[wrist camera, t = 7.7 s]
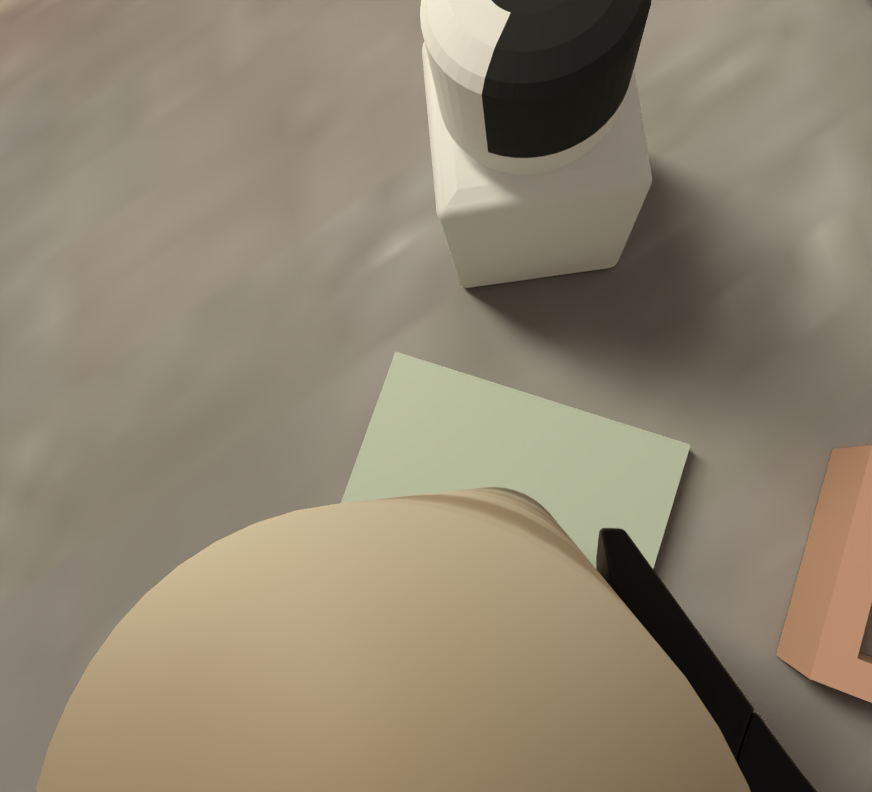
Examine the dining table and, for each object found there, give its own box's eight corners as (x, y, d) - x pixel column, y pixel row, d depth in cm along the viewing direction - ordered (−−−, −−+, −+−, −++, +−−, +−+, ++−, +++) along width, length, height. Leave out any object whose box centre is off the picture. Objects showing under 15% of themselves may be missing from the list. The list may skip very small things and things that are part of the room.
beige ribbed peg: (586, 619, 16) (947, 1416, 2) (442, 648, 16) (50, 1435, 3) (547, 472, 17) (643, 427, 3) (411, 504, 17) (-3, 582, 4)
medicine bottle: (596, 126, 25) (659, -182, 13) (618, 269, 24) (708, 67, 12) (447, 153, 26) (384, -111, 14) (460, 291, 25) (404, 124, 13)
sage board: (590, 758, 21) (593, 768, 20) (301, 628, 24) (293, 633, 23) (684, 446, 22) (690, 444, 21) (399, 355, 25) (395, 351, 24)
